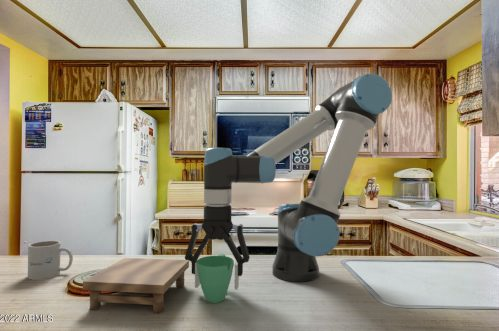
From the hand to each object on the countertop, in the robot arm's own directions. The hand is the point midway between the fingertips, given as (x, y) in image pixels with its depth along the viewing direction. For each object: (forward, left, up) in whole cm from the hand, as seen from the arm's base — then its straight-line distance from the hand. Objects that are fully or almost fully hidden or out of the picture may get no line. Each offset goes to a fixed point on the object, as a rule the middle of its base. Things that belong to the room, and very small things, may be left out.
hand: (217, 286), depth 84 cm
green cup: (0, 0, -2) cm, 2 cm away
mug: (+56, -9, -2) cm, 57 cm away
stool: (+20, +3, -2) cm, 20 cm away
